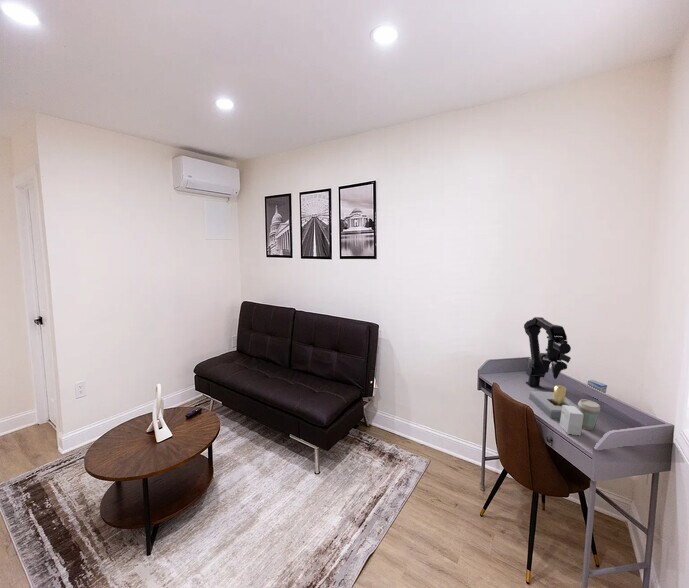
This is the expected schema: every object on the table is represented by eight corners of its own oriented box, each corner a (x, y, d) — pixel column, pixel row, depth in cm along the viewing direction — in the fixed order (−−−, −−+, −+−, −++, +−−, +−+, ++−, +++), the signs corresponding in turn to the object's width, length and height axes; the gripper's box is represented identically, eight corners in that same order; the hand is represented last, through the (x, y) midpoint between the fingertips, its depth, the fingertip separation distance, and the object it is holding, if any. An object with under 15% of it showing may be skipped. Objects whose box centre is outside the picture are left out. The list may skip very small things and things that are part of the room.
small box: (580, 436, 146) (584, 414, 144) (566, 434, 147) (570, 413, 145) (572, 426, 153) (575, 405, 152) (559, 424, 155) (562, 404, 153)
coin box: (529, 398, 180) (530, 391, 179) (558, 399, 179) (559, 392, 179) (550, 418, 160) (551, 409, 159) (583, 419, 160) (584, 411, 159)
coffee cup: (587, 421, 158) (591, 398, 156) (601, 431, 150) (606, 407, 148) (570, 421, 158) (574, 398, 156) (583, 431, 149) (587, 407, 147)
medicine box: (584, 394, 187) (587, 380, 186) (589, 393, 189) (592, 379, 187) (600, 400, 180) (602, 386, 179) (604, 399, 182) (607, 384, 180)
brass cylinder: (550, 407, 171) (553, 384, 169) (561, 409, 169) (564, 386, 167) (552, 411, 166) (556, 388, 164) (563, 414, 165) (567, 390, 162)
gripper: (579, 354, 168) (576, 383, 170) (560, 344, 186) (557, 370, 188) (556, 353, 169) (553, 381, 171) (539, 343, 187) (537, 369, 189)
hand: (550, 375), depth 180 cm, fingers open, 9 cm apart
